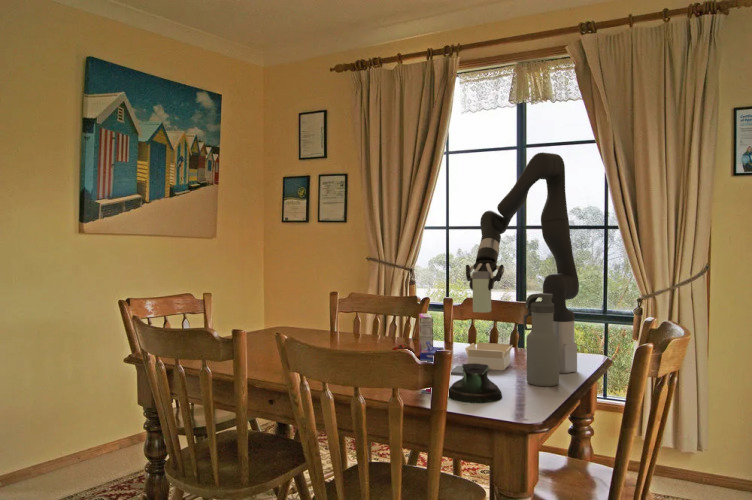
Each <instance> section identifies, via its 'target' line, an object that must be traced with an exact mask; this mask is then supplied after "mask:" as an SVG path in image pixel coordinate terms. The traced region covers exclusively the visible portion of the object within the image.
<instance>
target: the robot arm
mask: <svg viewBox="0 0 752 500" xmlns="http://www.w3.org/2000/svg"><path fill="white" fill-rule="evenodd" d="M565 166H566V165H565V161H564V159H563V157H562V156H561V155H559V154H557V153H553V152H552V153H551V152H544V151H543V152H538V153H536V154H534V155H533V156H532V157H531V159H530V160H529V161H528V163H527V164H526V166H525V168H524V169H523V172H522V173H521V174H520V175H519V178H517V180H516V182H515V184H514V185H513V186H512V188H511V189H510V191H509V192H508V193H507V194H506V195H505V196H504V197H503V198H502V199H501V200H500V202H498V204H497V207H496V209H497V211H498V213H497V212H496V211H493V210H489V209H488V210H485V211H484V212H483V213H482V215H481V217H480V221H479V223H480V231H481V239H480V243H479V245H478V249H477V253H476V258H475V263H474V264H473V265H470V264H466V265H465V277H466V281H467V282H469V288H470V289H471V291H473V275H472V274H471V273H472V272H475V271H488V272H490V279H489V284H488V289H489V290H491V291H492V290H493V289H494V285H495V283H496V282H500V281H501V279H502V278H503V275H504V272H505V267H504V264H500V265H498V264H497V263H498V259H499V255H500V244H501V241H502V240H501V239H502V238H501V235H502V234H504V233H506V231H507V229H508V227H509V225H510V222H511V221H512V219H513V217H514V216H515V215H516V214H517V212H519V211H520V209H521V208H522V207H523V206H524V205H525V203H526V201H527V198H528V194H529V191H530V190H531V188H532V186H533V185H534V184H536V183H537V182H538V181H540V180H545V182H546V190H547V191H546V192H547V193H546V200H545V203H544V206H543V209H542V210H541V215H540V226H541V227H540V228H541V233H542V238H543V240H544V242H545V244H546V246H547V247H548V249H549V250H550V251H549V252H550V253H551V254H552V256H553V258H554V261H555V264H556V265H555V266H556V273H550V274H548V275H547V276H545V277H544V281H543V282H542V283H543V284H542V293H546V294H553V298H551V300H552V303H553V304H554V307H553V308H554V314H553V332H554V333H555V334H556V335H557V336H558V338H559V374H569V373H575V372H578V343H576V342H575V312H574V311H572V310H570V309H568V307H567V302H566V301H567V300H573V299H574V298H576V297H577V295H578V294H579V292H580V281H579V276H578V272H577V269H576V263H575V260H574V259H575V258H574V253H573V247H572V240H571V229H570V220H569V214H568V206H567V195H566V169H565V168H566V167H565ZM494 272H496V274H495V275H494Z"/></svg>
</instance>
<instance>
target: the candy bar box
mask: <svg viewBox="0 0 752 500" xmlns="http://www.w3.org/2000/svg"><path fill="white" fill-rule="evenodd" d="M433 320H434V319H433V315H432V313H418V337H419V338H418V340H419V345H418V346H419V354H420V353H421V352H422V351H423V350H425V349H426V348H427V345H426V342H428V341H429V342H430V343H431V345H432V347H434V328H433V327H434V323H433V322H434V321H433ZM428 346H430V344H428Z"/></svg>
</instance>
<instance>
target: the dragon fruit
mask: <svg viewBox="0 0 752 500" xmlns="http://www.w3.org/2000/svg"><path fill="white" fill-rule="evenodd" d="M397 349H408V350H410V351H412V352H413V353H414V354H415V355H416V352H415V350H414V349H413V348H412V347H411V346H409V345H408V344H407V343H403V344H401V343H398V344H397V346H395V347H392V348H391V350H397Z"/></svg>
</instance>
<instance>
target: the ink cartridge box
mask: <svg viewBox="0 0 752 500" xmlns="http://www.w3.org/2000/svg"><path fill="white" fill-rule="evenodd" d="M428 344H430V346H428ZM426 345H427V348H426V349H425V350H423V351H422V352H421V353H420V352H419V362H420V361H427V362H433V356H434V352H435V351H437V350H444V349H445V348H444V347H441V346H440V347H439V346H433V347H432V345H431V343H430V342H429V341H428V342H426ZM444 351H445V350H444ZM421 393H422V394H431V388H430V389H426V390H422V391H421Z"/></svg>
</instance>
